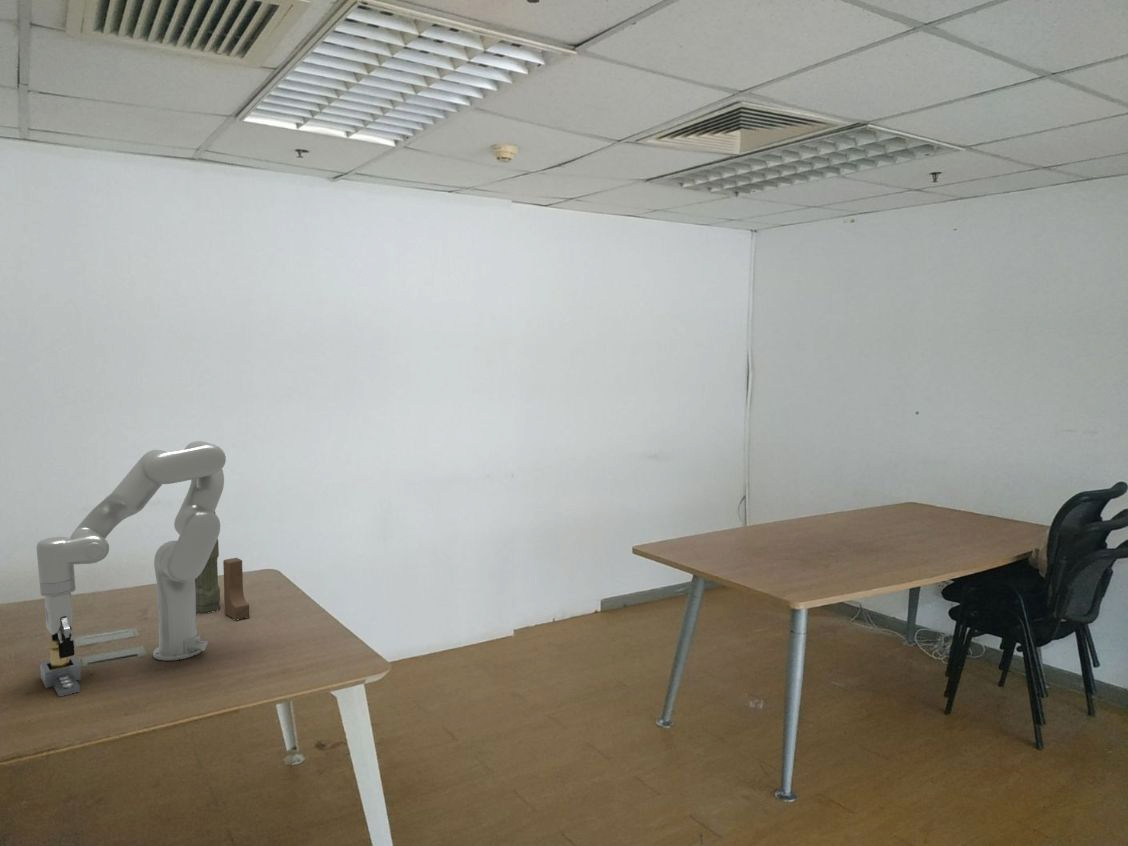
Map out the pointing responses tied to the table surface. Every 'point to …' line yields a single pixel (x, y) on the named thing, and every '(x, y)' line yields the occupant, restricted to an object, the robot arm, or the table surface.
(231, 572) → the wooden block
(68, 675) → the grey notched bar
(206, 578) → the thermos
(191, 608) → the robot arm
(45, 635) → the table surface
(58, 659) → the pin
